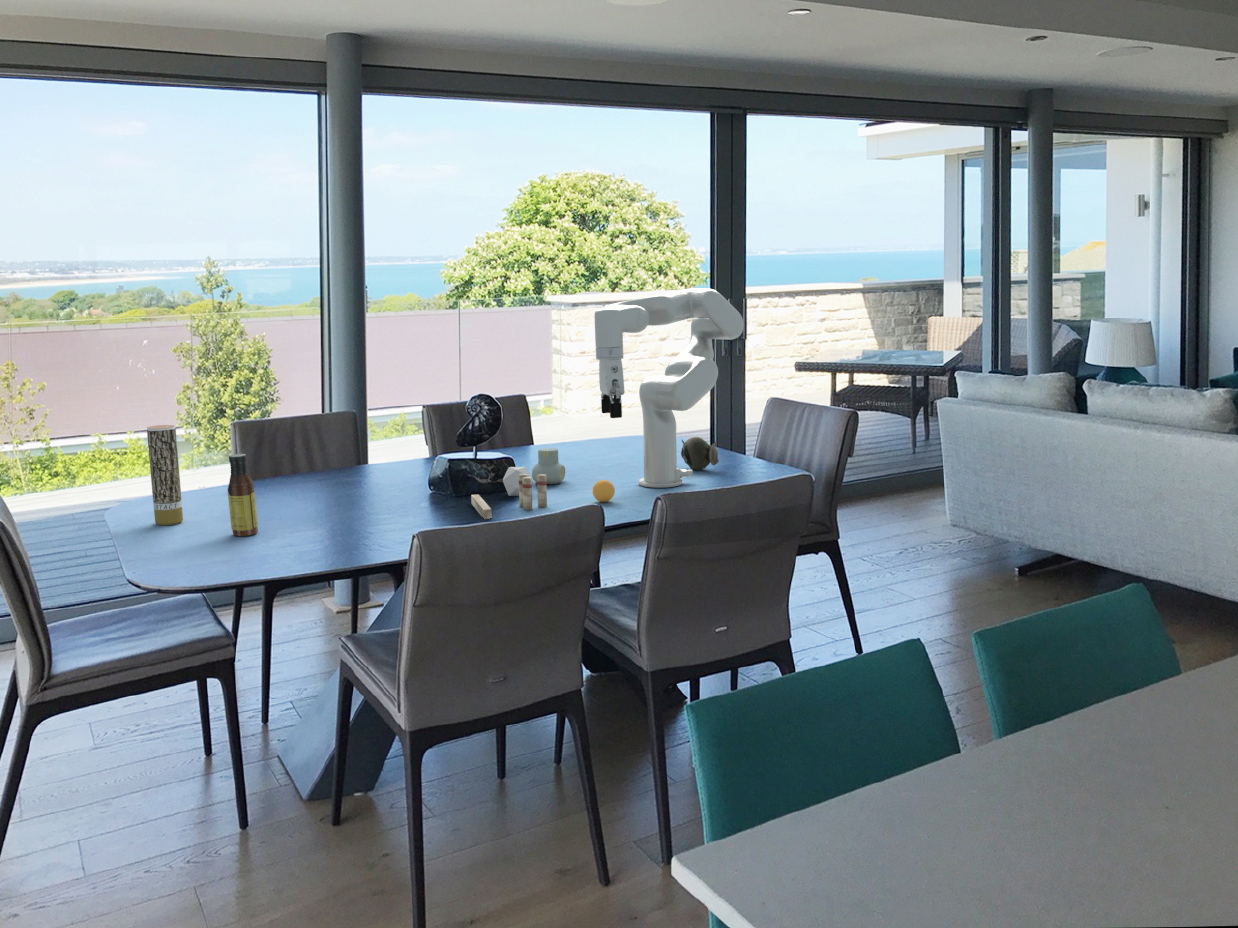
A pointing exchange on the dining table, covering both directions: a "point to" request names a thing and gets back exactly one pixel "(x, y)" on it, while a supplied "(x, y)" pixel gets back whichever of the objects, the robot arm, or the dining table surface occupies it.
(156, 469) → the paper tube
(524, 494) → the pin
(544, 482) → the front pin
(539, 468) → the air freshener
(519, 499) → the pin
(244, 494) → the sauce bottle
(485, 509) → the backstop
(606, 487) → the ball
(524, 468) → the die
